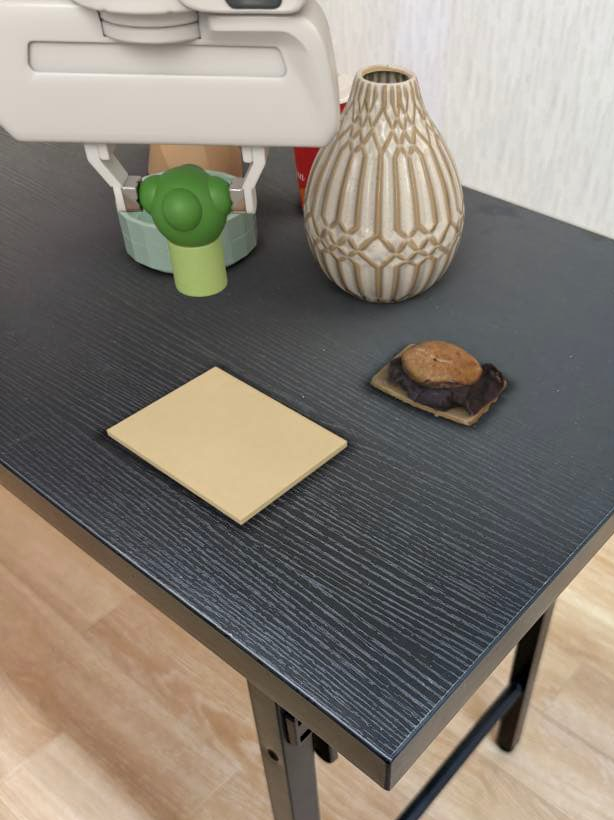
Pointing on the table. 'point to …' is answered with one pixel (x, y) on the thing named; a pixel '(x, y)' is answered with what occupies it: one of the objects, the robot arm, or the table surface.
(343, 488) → the table surface
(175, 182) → the broccoli
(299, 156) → the paper cup
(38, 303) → the table surface
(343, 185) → the vase
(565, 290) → the table surface
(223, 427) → the mat
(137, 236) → the bowl
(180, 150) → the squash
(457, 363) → the brown round-topped food
